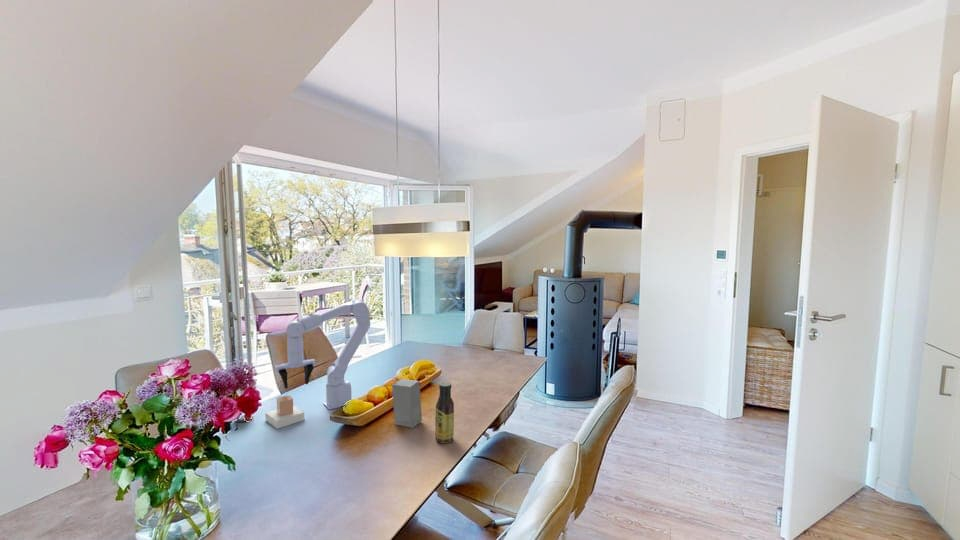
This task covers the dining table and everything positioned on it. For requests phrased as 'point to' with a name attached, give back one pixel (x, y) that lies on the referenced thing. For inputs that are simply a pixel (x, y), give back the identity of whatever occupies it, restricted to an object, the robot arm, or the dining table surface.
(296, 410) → the marble slab
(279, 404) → the wooden block
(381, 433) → the dining table surface
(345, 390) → the robot arm
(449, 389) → the sauce bottle
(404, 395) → the skincare box
